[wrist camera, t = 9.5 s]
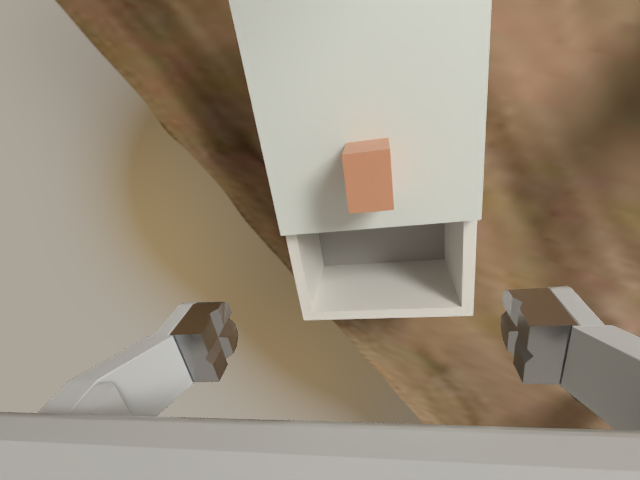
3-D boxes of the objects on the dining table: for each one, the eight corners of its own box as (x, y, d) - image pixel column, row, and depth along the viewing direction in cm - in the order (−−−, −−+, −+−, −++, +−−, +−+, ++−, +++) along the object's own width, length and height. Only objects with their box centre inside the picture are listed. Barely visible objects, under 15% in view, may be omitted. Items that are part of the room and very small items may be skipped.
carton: (284, 77, 34) (251, 79, 25) (453, 47, 31) (484, 38, 22) (318, 269, 44) (303, 320, 35) (452, 261, 40) (473, 315, 32)
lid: (213, -95, 21) (169, -138, 17) (494, -176, 18) (532, -257, 14) (283, 230, 30) (267, 258, 26) (477, 215, 27) (497, 243, 23)
